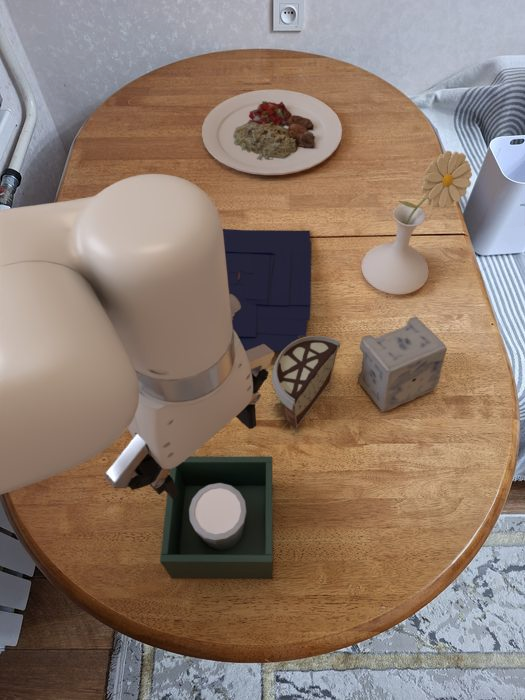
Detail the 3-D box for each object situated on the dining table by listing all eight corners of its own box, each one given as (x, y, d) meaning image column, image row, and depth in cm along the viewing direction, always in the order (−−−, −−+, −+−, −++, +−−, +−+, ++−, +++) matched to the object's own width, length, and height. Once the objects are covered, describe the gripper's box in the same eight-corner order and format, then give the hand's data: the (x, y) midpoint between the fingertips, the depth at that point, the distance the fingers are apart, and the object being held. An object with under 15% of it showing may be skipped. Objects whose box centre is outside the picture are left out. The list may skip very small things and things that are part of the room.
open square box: (272, 578, 68) (272, 562, 61) (171, 578, 68) (159, 561, 61) (272, 481, 75) (272, 456, 68) (180, 481, 75) (171, 456, 68)
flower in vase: (363, 300, 93) (389, 179, 72) (357, 251, 99) (379, 127, 79) (441, 299, 93) (489, 178, 72) (429, 250, 99) (470, 126, 79)
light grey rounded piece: (225, 491, 74) (221, 471, 68) (259, 529, 71) (258, 511, 65) (184, 526, 71) (177, 508, 66) (218, 567, 69) (213, 552, 63)
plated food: (243, 199, 108) (242, 185, 105) (179, 122, 123) (177, 107, 120) (369, 151, 116) (371, 137, 113) (295, 83, 131) (295, 69, 128)
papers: (152, 357, 85) (148, 341, 83) (183, 238, 105) (180, 222, 102) (309, 364, 84) (310, 348, 82) (310, 242, 104) (311, 226, 101)
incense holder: (405, 351, 87) (419, 310, 78) (436, 392, 83) (455, 353, 74) (351, 374, 85) (360, 334, 76) (380, 417, 80) (393, 380, 72)
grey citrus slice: (301, 357, 87) (304, 318, 78) (334, 376, 85) (341, 338, 76) (255, 414, 81) (253, 379, 73) (290, 436, 79) (292, 402, 71)
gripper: (234, 254, 43) (244, 371, 57) (40, 392, 36) (106, 486, 50) (306, 307, 39) (297, 417, 54) (108, 469, 33) (158, 546, 47)
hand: (205, 450), depth 52 cm, fingers open, 9 cm apart
